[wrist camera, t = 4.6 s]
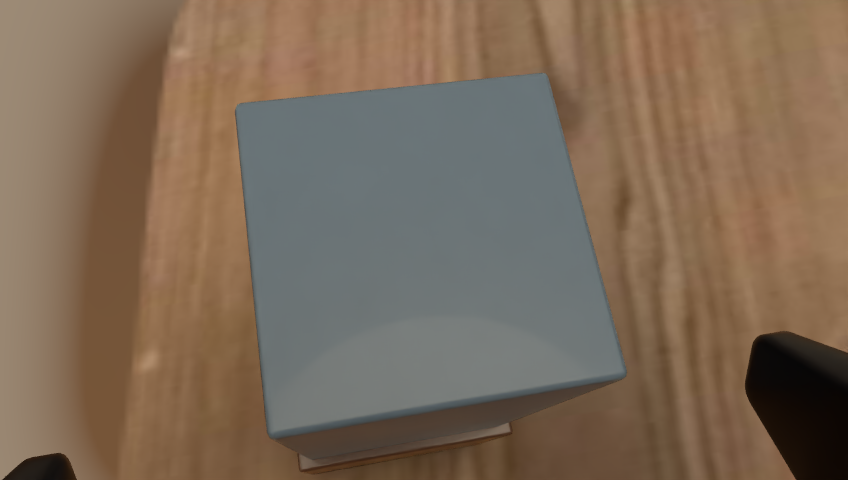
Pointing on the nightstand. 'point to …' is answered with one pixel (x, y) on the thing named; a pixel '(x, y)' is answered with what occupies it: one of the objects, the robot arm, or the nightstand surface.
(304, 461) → the base block
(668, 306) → the nightstand surface
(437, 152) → the top block
